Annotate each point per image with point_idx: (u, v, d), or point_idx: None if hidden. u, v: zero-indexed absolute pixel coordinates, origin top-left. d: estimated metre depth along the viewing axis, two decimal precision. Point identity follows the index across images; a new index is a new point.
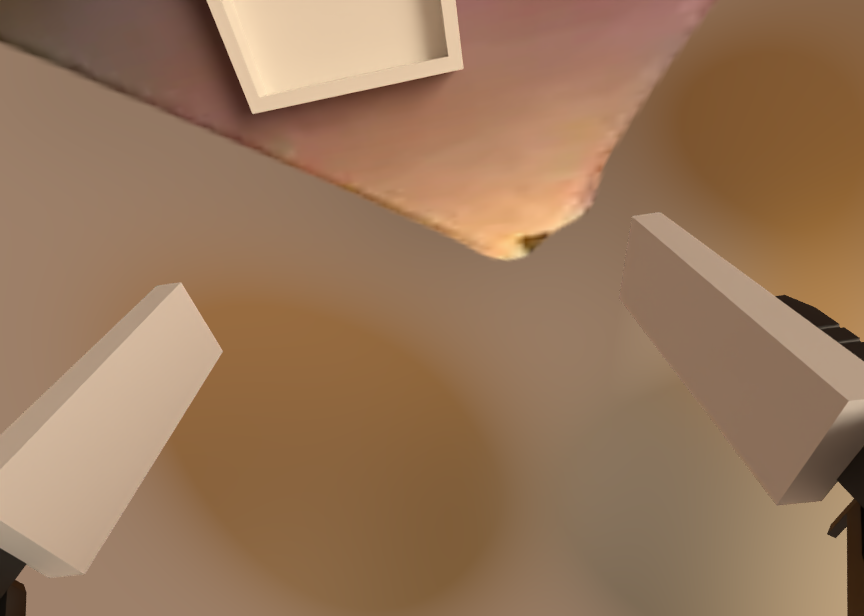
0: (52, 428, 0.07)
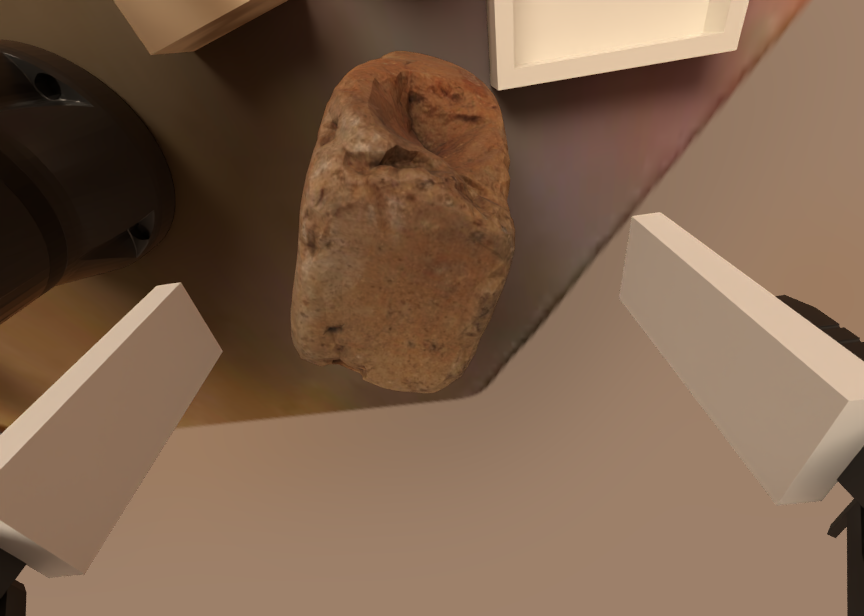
0: (52, 428, 0.07)
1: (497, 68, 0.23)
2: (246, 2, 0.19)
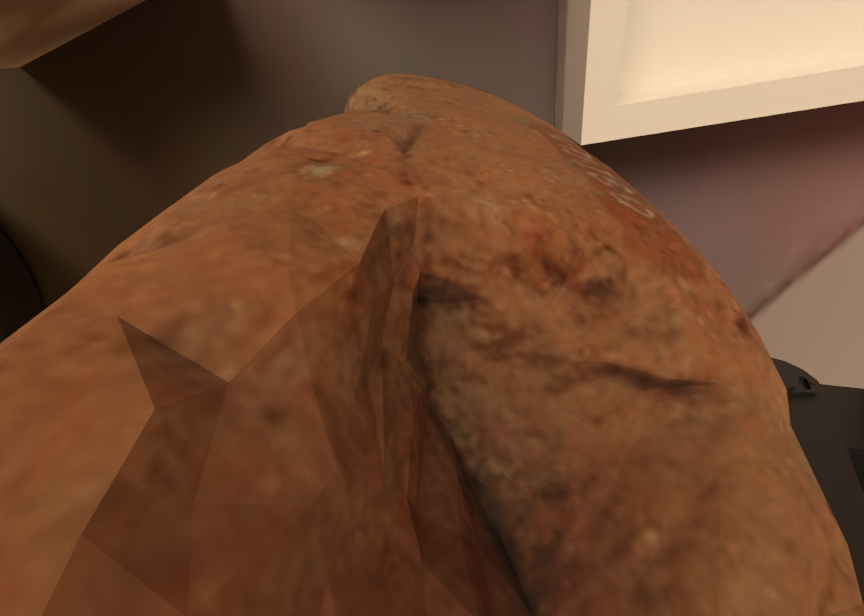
0: None
1: (583, 105, 0.12)
2: None
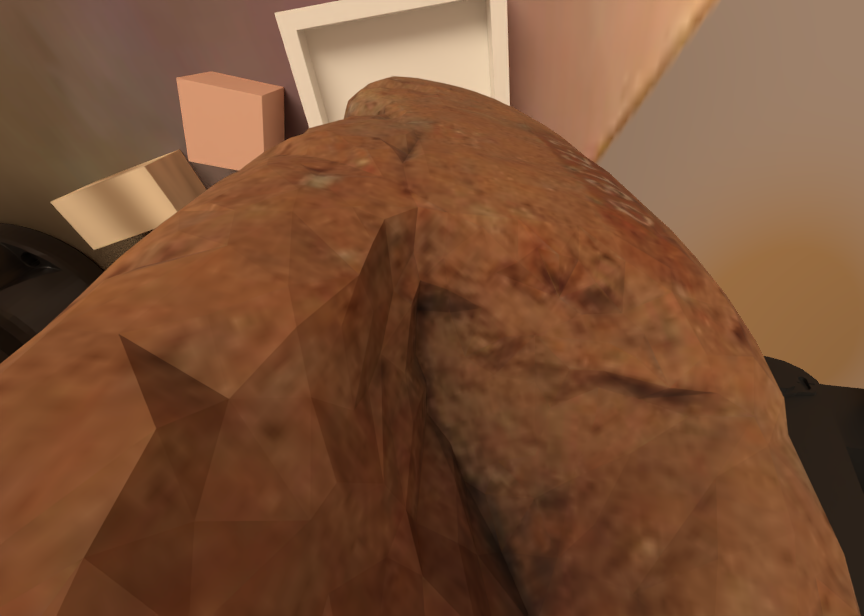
0: None
1: None
2: None
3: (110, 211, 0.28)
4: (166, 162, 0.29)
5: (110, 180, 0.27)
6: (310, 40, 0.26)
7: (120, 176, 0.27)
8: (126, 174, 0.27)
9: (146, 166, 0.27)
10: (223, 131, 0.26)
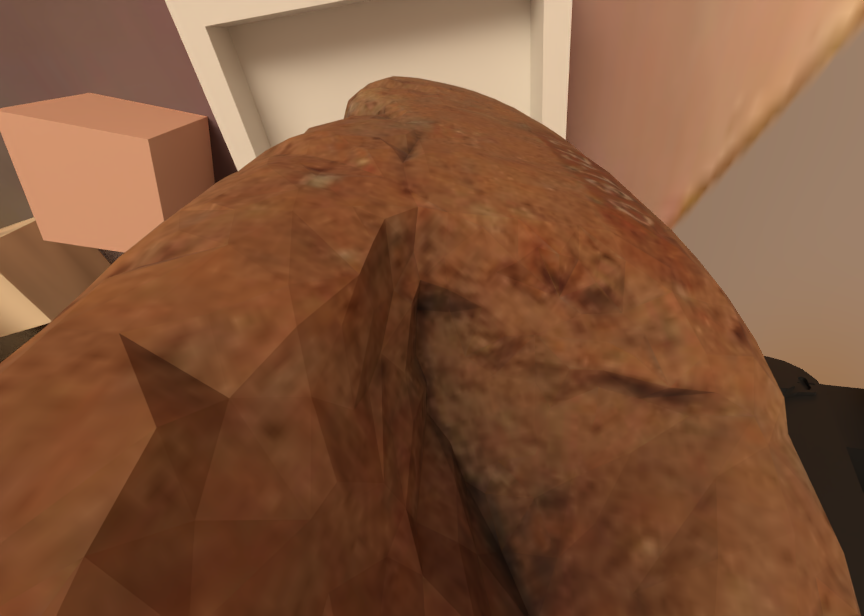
0: None
1: None
2: (19, 330, 0.19)
3: None
4: (29, 233, 0.19)
5: None
6: (239, 44, 0.16)
7: None
8: None
9: None
10: (92, 195, 0.15)
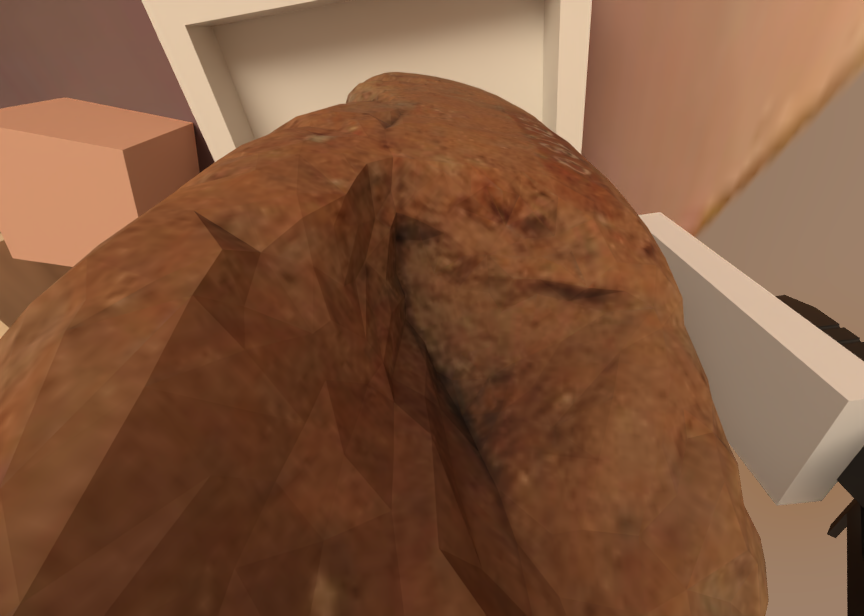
0: None
1: None
2: None
3: None
4: (5, 249, 0.17)
5: None
6: (225, 44, 0.14)
7: None
8: None
9: None
10: (63, 210, 0.14)
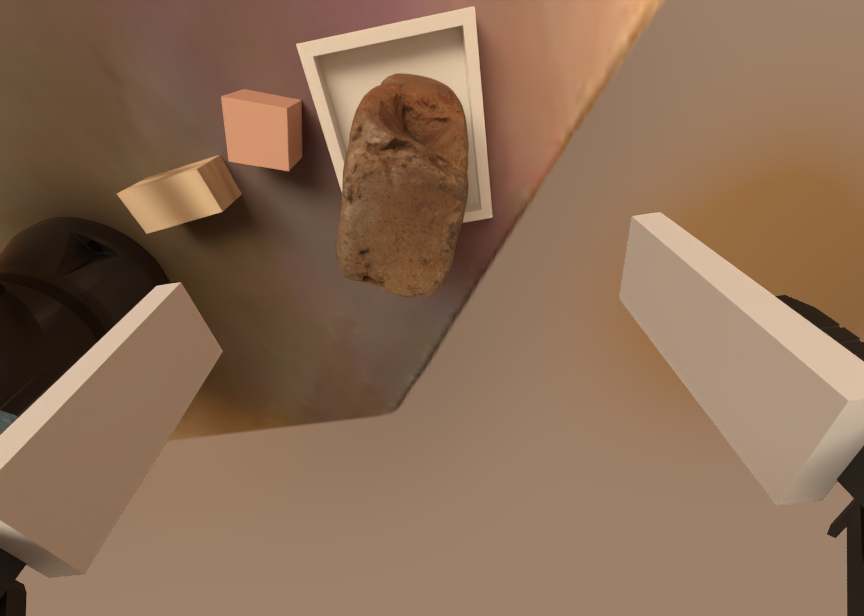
0: (52, 428, 0.07)
1: None
2: None
3: (165, 202, 0.35)
4: (211, 165, 0.36)
5: (168, 178, 0.34)
6: (323, 63, 0.33)
7: (176, 176, 0.34)
8: (181, 174, 0.34)
9: (198, 169, 0.34)
10: (256, 136, 0.32)
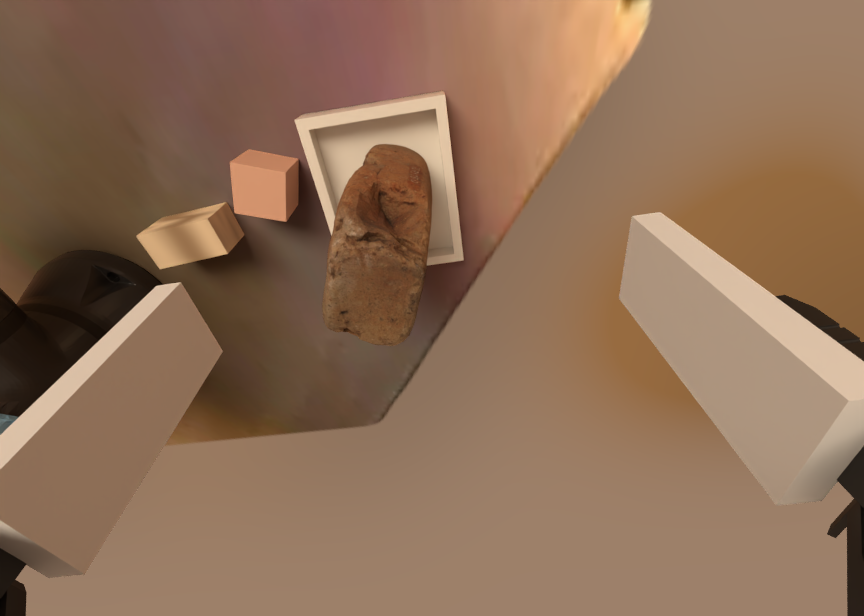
0: (52, 428, 0.07)
1: None
2: (210, 257, 0.42)
3: (177, 245, 0.41)
4: (219, 213, 0.41)
5: (182, 225, 0.40)
6: (317, 131, 0.38)
7: (189, 223, 0.39)
8: (194, 223, 0.39)
9: (208, 218, 0.39)
10: (259, 194, 0.38)
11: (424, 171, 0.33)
